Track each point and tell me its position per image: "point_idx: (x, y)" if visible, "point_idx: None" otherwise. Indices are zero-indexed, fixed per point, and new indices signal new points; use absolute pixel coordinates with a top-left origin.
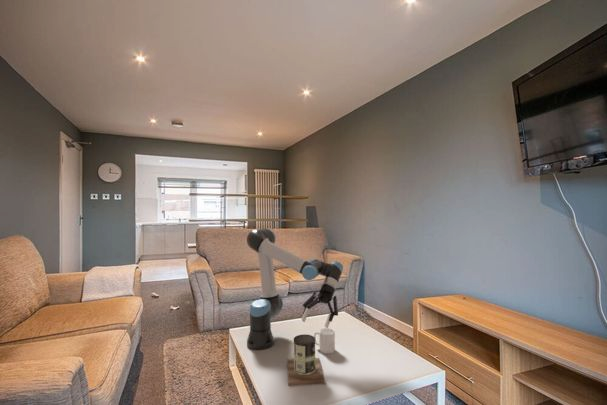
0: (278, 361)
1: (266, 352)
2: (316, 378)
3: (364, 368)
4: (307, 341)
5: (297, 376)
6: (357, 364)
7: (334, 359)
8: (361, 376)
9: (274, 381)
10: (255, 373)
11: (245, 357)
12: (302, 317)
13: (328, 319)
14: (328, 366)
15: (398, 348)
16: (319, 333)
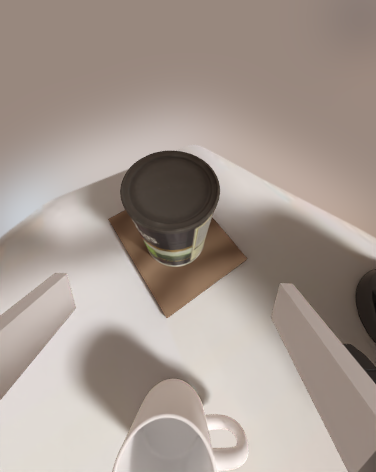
0: (266, 249)
1: (334, 274)
2: (130, 218)
3: None
4: (148, 175)
5: None
6: (34, 364)
7: (121, 353)
8: (20, 296)
9: None
10: (268, 186)
11: (349, 224)
12: (298, 293)
13: (1, 321)
14: (126, 297)
15: None
16: (203, 430)
